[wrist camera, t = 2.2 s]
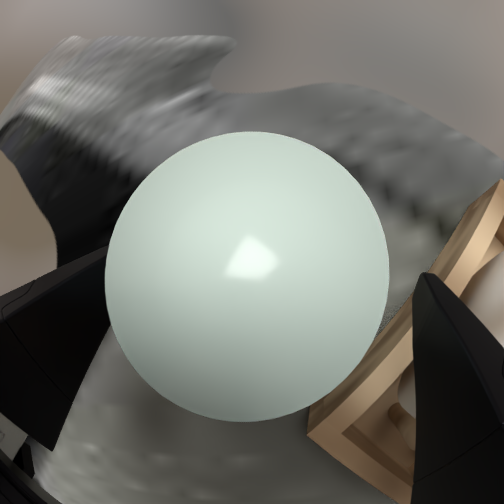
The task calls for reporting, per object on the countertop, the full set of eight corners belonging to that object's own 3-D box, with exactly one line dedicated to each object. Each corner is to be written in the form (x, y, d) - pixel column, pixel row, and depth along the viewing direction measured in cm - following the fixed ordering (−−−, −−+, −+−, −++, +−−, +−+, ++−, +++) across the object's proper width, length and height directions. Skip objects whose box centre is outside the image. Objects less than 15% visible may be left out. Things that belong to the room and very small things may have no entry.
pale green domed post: (290, 371, 15) (234, 472, 4) (218, 301, 17) (70, 274, 6) (361, 293, 15) (446, 252, 4) (285, 227, 17) (229, 94, 6)
